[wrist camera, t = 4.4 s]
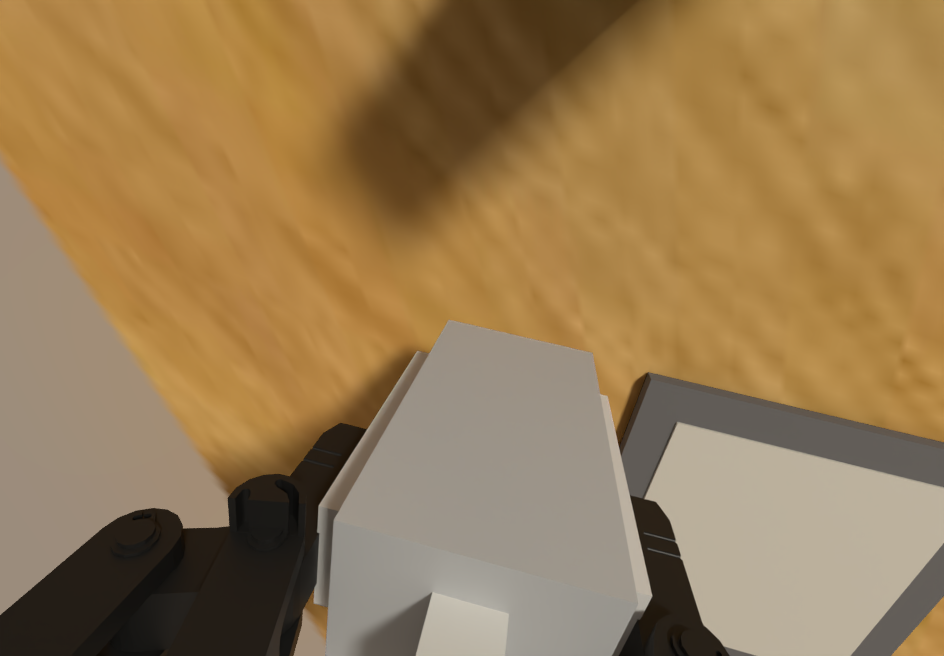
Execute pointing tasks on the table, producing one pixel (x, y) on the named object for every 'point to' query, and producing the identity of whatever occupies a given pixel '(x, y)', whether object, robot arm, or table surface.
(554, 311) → the table surface
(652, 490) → the charcoal picture frame
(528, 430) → the usb dongle
